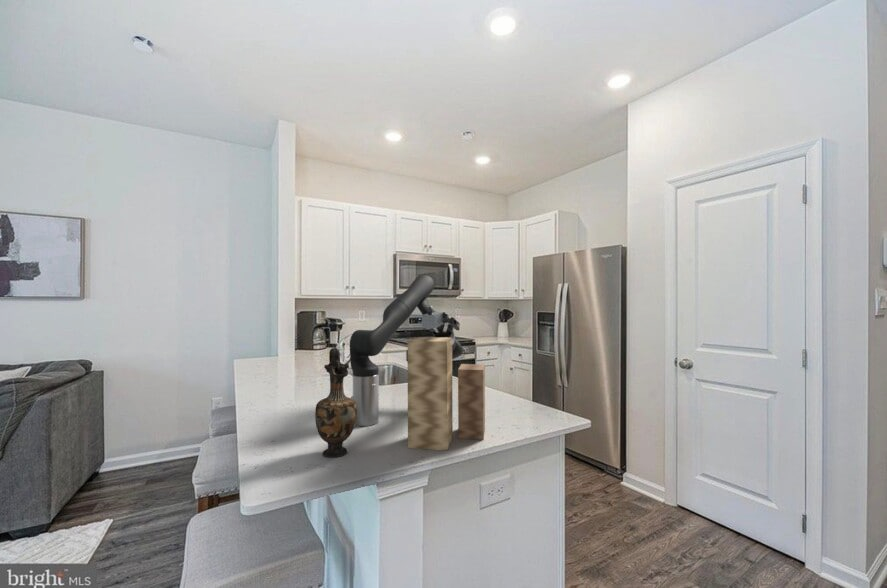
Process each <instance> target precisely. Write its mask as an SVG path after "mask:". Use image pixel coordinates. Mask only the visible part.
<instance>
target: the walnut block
mask: <svg viewBox="0 0 887 588" xmlns="http://www.w3.org/2000/svg"><path fill="white" fill-rule="evenodd" d="M485 379H486V365H485V364H483V363H480V364H479V363H478V364H477V363H475V364H474V363H461V364H460V366H459V367H458V369H457V395H458V396H457V404H458V405H457V406H458V407H457V408H458V409H457V410H458V411H457V414H458V416H457V417H458V418H457V421H458V427H457V429H458V430H457V431H458V432H457V433H458V439H462V440H463V439H464V440H465V439H466V440H480V441H482V440H484V438H485V433H486V380H485Z"/></svg>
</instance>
